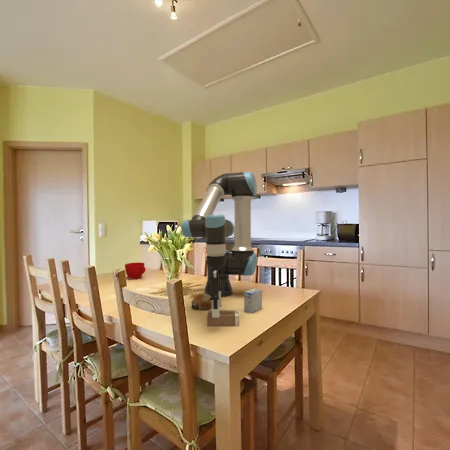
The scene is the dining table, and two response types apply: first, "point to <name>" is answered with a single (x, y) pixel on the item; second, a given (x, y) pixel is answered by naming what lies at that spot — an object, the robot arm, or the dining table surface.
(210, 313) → the walnut block
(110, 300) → the dining table surface
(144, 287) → the dining table surface
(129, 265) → the ceramic cup
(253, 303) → the medicine box
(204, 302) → the bread roll
